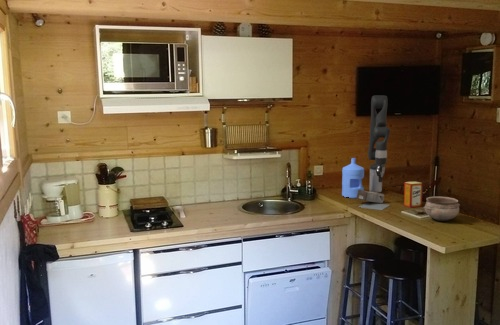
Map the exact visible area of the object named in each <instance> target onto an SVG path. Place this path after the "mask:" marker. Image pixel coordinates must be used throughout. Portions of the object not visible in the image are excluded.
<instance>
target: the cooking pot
mask: <svg viewBox="0 0 500 325" xmlns="http://www.w3.org/2000/svg"><path fill="white" fill-rule="evenodd" d="M460 205H461V204H460V203H459V200H458V199H456V198H454V197H449V196H429V197H426V202H425V204H424V206H423V209H424V212H425V214H426V215H428V216H429V217H430V218H432V219H433V220H435V221H437V222H448V221H450V220H452V219H454V218H456V217H457V216H458V215H459V213H460Z"/></svg>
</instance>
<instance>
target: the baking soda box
mask: <svg viewBox="0 0 500 325" xmlns="http://www.w3.org/2000/svg"><path fill="white" fill-rule="evenodd" d="M423 184H424V183H423V182H420V181H406V182H404V183H403V186H404V187H403V206H404V207H406V208H410V209H411V208H418V207H422V206H423V187H424V186H423Z"/></svg>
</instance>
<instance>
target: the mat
mask: <svg viewBox="0 0 500 325" xmlns="http://www.w3.org/2000/svg"><path fill="white" fill-rule="evenodd" d="M390 206H391V204H386V203H385V204H384V203H377V202H369V201H365V202H364V203H363V204H360V205H359V206H358V208H359V207H361V209H367V210H373V211H383V210H385V209H387V208H389V207H390Z"/></svg>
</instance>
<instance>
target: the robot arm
mask: <svg viewBox="0 0 500 325" xmlns="http://www.w3.org/2000/svg"><path fill="white" fill-rule="evenodd" d="M370 105H371V106H370V110H371V111H370V125H369V129H370V130H369V143H368V151H367V152H368V154H367V158H368V160H369V161H374V163H372V164H370V165H369V191H370V192H377V193H381V192H383V191H382V190H383V176H385V171H386V167H385V165H386V164H387V163H388V147H387V146H388V142H389V141H388V140H389V137H390V135H391V130H390V128H389V127H388V126H387V125H388V123H387V114H388V113H387V112H388V96H387V95H383V94H382V95H373V96H371V101H370ZM376 109H381V110H380V111H379V112H378V113H377V110H376ZM380 138H383V139H382V140H379V139H380Z"/></svg>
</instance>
